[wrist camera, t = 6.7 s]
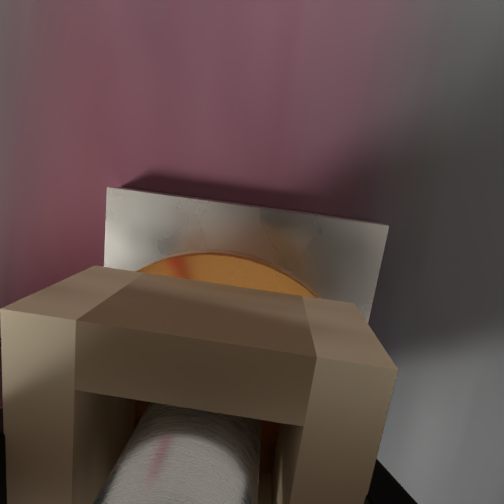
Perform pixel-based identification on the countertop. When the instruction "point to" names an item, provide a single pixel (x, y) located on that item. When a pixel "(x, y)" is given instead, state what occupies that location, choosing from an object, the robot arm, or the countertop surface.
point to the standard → (235, 274)
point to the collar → (188, 381)
